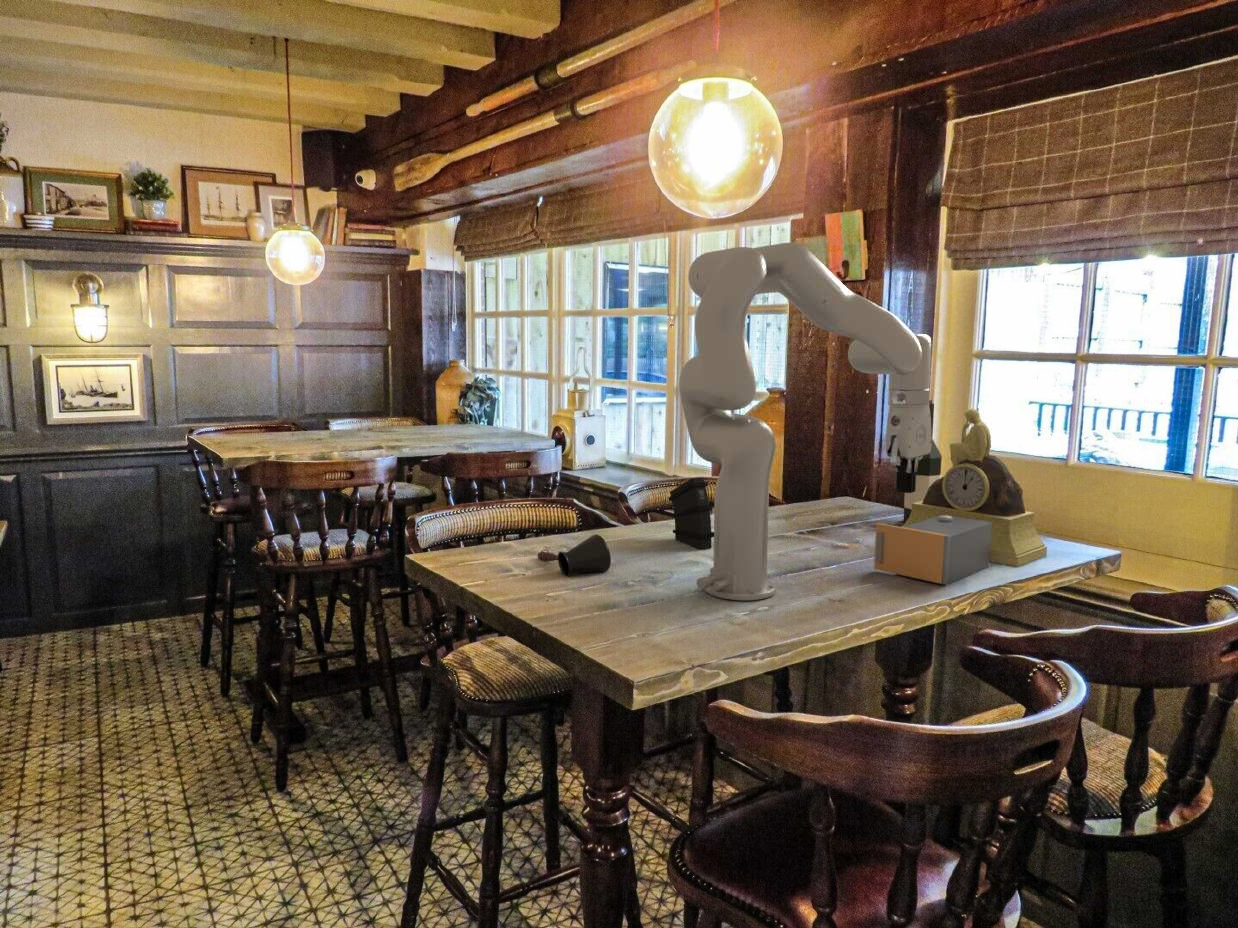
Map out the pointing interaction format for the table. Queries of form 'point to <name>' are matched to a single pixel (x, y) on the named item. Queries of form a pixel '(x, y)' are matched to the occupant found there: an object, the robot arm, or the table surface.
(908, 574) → the side door
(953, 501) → the decorative clock
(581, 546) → the coffee pot
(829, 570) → the table surface
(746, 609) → the table surface
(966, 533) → the grey box with knob
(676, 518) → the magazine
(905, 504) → the wine bottle
